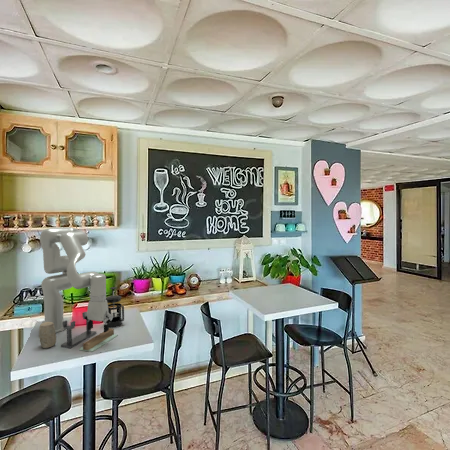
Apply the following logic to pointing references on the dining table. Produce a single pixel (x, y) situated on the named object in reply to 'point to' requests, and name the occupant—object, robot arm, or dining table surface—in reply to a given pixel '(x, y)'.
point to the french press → (116, 315)
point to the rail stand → (77, 339)
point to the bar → (97, 339)
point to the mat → (100, 343)
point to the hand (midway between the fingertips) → (98, 330)
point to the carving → (47, 334)
